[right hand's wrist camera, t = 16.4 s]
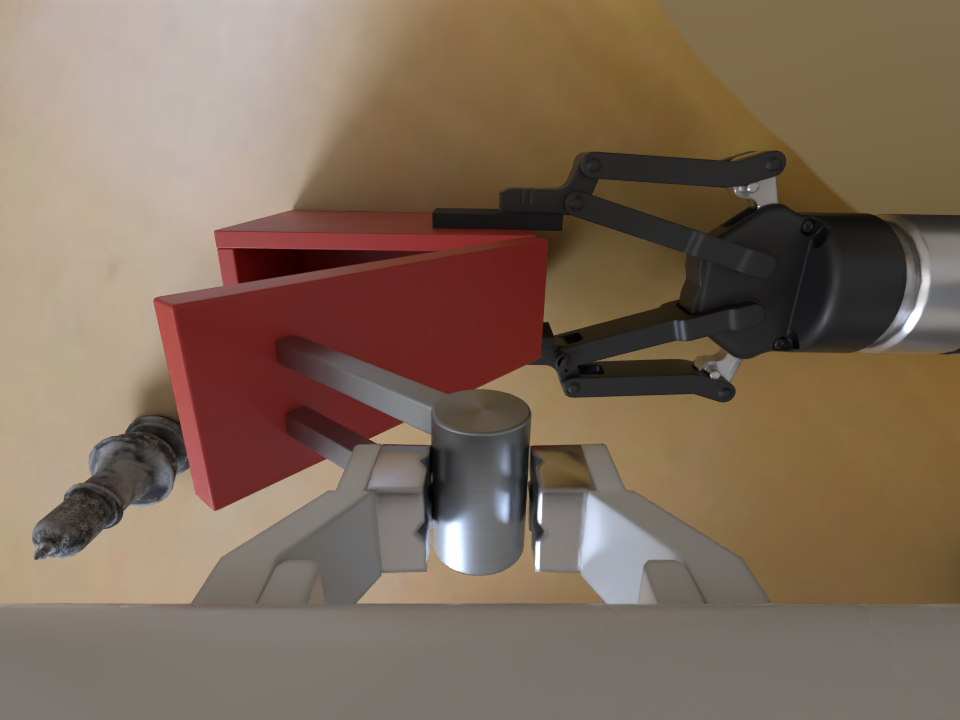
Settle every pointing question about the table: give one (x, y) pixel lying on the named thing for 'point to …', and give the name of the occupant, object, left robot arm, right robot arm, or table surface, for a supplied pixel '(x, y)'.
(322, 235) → the chest
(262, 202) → the table surface
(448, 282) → the lid
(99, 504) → the grey chess bishop
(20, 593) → the table surface
